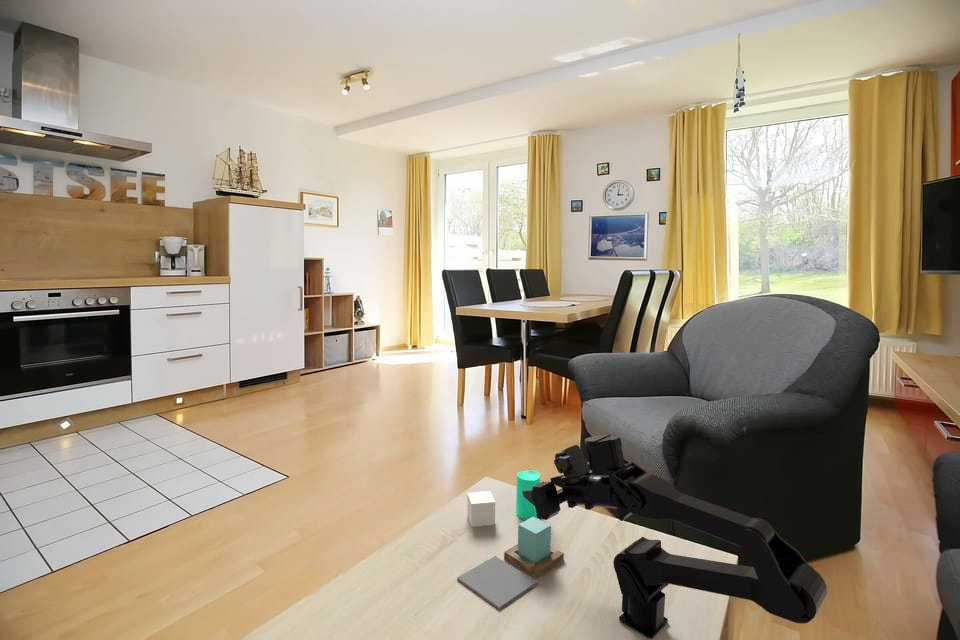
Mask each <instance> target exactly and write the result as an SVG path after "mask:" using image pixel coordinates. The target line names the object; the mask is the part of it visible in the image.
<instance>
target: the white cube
mask: <svg viewBox="0 0 960 640" xmlns="http://www.w3.org/2000/svg"><path fill="white" fill-rule="evenodd" d="M466 494H467V496H466V497H467V498H466V499H467V500H466V502H467V505H466V507H467V509H466V515H467V518H468V521H469V524H470V527H472V528H474V527H484V526H483V525H486V526H494V525H493V524H495V525H496V500H495V498H494V496H493V494H492V492H491V491H490V490H488V491H473V492H466Z"/></svg>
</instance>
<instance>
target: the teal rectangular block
mask: <svg viewBox="0 0 960 640" xmlns="http://www.w3.org/2000/svg"><path fill="white" fill-rule="evenodd" d="M517 526H518V528H517V544H518V555H520V556H521V557H523V558H525V559H527V560H528V561H530V562H532V563H534V564H535V565H536V564H538V563H539V562H541V561H542V560H544V559H546V558H547V557H549V556H550V546H551V544H552V543H551V538H552V537H551V536H552V525H551V524H549V523H547V522H546V521H544V520H542V519H539V518H538V517H537V518H535V517H532V518H530V519H525V520H524V521H522V522H520V523H519V524H518V525H517Z"/></svg>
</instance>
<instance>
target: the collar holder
mask: <svg viewBox="0 0 960 640" xmlns="http://www.w3.org/2000/svg"><path fill="white" fill-rule="evenodd" d="M503 556H504V557H503V558H504V560H507V562H510V563H511V564H513V565H515V566H517V567H518V568H520V569H521V570H523V571H525V572H526V573H528V574H530V575H531V576H533V577H534V578H538V577H540V576H541V575H543V574H544V573H546V572H547V571H549V570H550V569H553V567H555V566H556V565H558V564H560V563H561V562H562V561H564V559H565V558H564V556H565V553H564V552H562V551H561V550H559V549H556V548H555V547H553V546H551V545H550V556H549V557H547V558H546V559H544V560H542V561H541V562H539V563H538V564H536V565H535V564H534V563H532V562H530V561H528V560H527V559H525V558H523V557H521V556H520V555H518V543H517V544H515V545H514V546H512V547H510V548H508V549H507V550H505V551H504V552H503Z"/></svg>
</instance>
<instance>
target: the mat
mask: <svg viewBox="0 0 960 640" xmlns="http://www.w3.org/2000/svg"><path fill="white" fill-rule="evenodd" d="M457 581H458V582H460V583H461V584H462V585H464V586H465V587H466V588H468V589H469V590H471V591H472V592H474V593H475V594H477V595H478V596H479V597H481V598H482V599H483V600H485V601H486V602H488V603H489V604H490V605H492V606H494V607H495V609H498V610H501V609H503V608H504V607H505V606H507V605H508V604H510V603H511V602H513V601H514V600H516V599H517V598H519V597H520V596H521V595H523V594H524V593H526V592H527V591H529V590H530V589H532V588H533V587H535V586H537V585H538V581H537V580H536V579H534V578H532V577H530V576H528V575H527V574H525V573H524V572H522V571H520V570H519V569H517V568H515V567H514V566H512V565H511V564H510V563H507V562H506V561H505V560H502V559H501V558H499V557H498V556H497V555H495V556H493V557H490V558H489V559H486V560H485V561H483V562H482V563H480V564H478V565H477V566H475V567H473V568H471V569H470V570H468V571H466V572H464V573H463V574H461V575H459V576H458V577H457Z"/></svg>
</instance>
